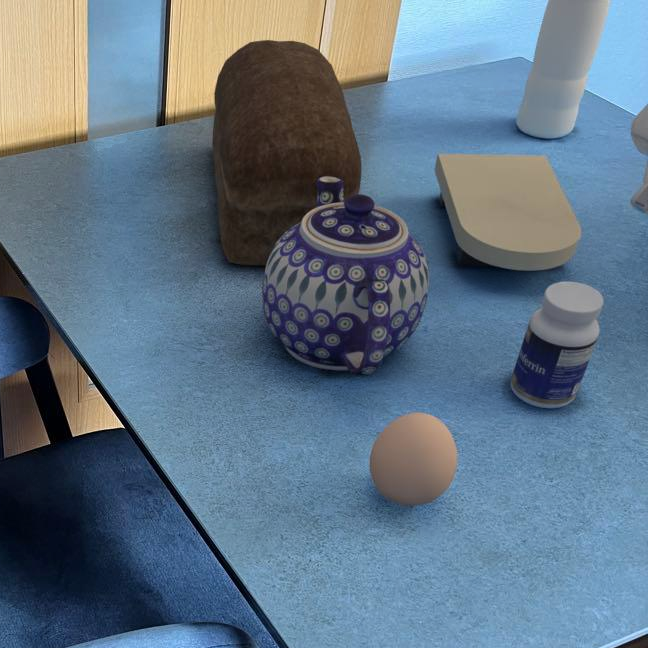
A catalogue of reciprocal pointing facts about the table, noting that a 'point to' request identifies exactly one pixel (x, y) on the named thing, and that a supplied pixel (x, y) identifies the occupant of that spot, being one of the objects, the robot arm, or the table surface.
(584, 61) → the water bottle
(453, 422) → the table surface
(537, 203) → the beige rounded board
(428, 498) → the egg
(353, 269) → the teapot
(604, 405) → the table surface
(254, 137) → the bread
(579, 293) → the pill bottle
